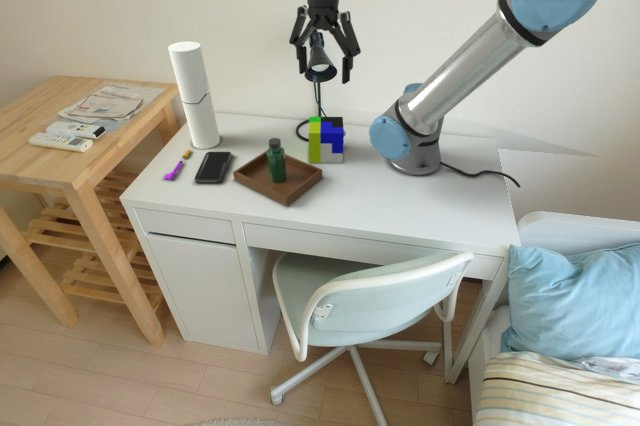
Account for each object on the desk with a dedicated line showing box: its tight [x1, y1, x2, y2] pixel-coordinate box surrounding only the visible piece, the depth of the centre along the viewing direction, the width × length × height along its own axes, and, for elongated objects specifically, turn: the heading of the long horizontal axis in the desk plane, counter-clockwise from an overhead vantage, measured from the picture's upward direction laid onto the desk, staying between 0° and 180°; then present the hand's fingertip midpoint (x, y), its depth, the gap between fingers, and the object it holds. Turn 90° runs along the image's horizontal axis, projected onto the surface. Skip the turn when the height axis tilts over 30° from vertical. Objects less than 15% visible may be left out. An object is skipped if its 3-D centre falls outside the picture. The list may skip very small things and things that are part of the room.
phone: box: [194, 151, 233, 185], centre depth 111 cm, size 8×1×15 cm
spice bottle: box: [266, 137, 287, 183], centre depth 103 cm, size 5×5×12 cm
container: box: [167, 41, 221, 150], centre depth 114 cm, size 9×9×30 cm
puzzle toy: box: [308, 116, 345, 164], centre depth 114 cm, size 10×10×10 cm
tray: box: [232, 150, 323, 208], centre depth 107 cm, size 20×16×3 cm
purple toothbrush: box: [163, 148, 191, 181], centre depth 113 cm, size 3×1×16 cm
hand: (324, 77), depth 101 cm, fingers open, 13 cm apart
